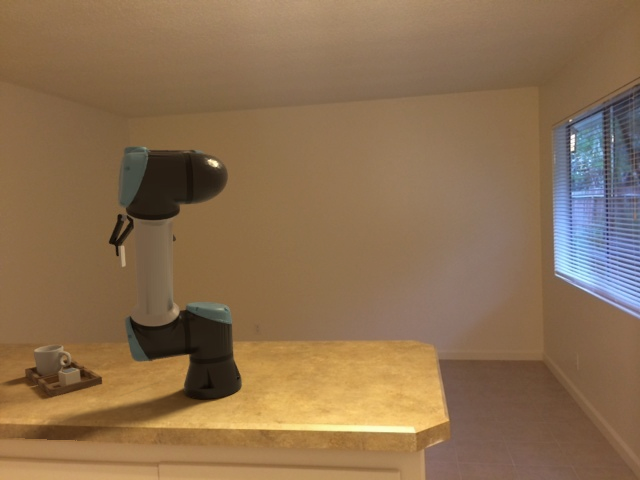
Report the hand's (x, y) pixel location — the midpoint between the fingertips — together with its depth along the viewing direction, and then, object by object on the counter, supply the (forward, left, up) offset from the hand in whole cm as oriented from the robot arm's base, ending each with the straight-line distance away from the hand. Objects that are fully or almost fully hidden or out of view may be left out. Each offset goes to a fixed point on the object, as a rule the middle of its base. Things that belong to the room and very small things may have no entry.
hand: (144, 265), depth 155 cm
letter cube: (0, +24, -31) cm, 39 cm away
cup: (+14, +24, -31) cm, 42 cm away
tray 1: (+14, +24, -32) cm, 42 cm away
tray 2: (0, +24, -32) cm, 40 cm away
